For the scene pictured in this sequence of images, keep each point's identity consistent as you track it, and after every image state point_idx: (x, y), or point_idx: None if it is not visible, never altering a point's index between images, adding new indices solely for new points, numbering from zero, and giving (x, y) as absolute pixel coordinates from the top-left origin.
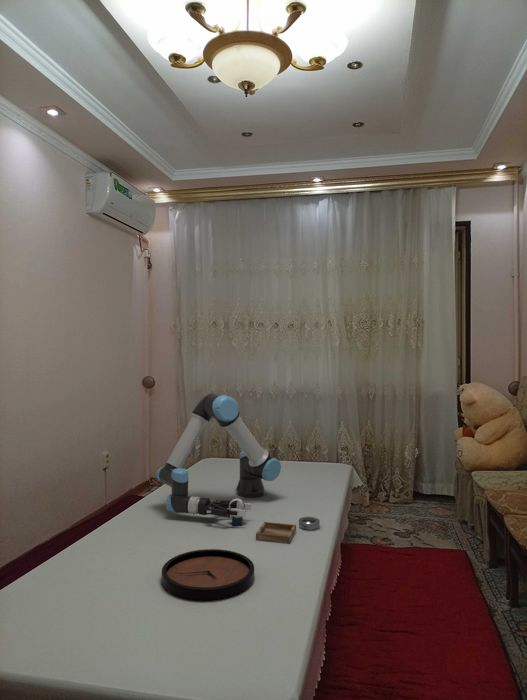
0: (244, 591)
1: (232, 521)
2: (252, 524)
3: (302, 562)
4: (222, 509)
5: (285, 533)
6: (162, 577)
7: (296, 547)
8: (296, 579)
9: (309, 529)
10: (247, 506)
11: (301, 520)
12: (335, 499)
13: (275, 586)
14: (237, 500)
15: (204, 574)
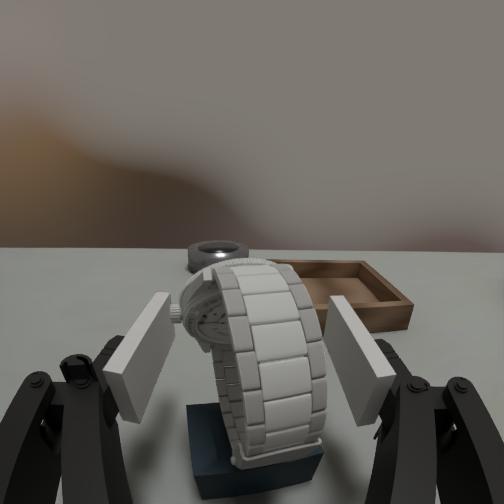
0: None
1: (318, 459)
2: (231, 384)
3: (417, 262)
4: (430, 468)
5: (306, 285)
6: None
7: None
8: (462, 262)
9: None
10: (165, 324)
11: (224, 254)
12: (37, 250)
13: (496, 270)
14: (288, 272)
15: None
